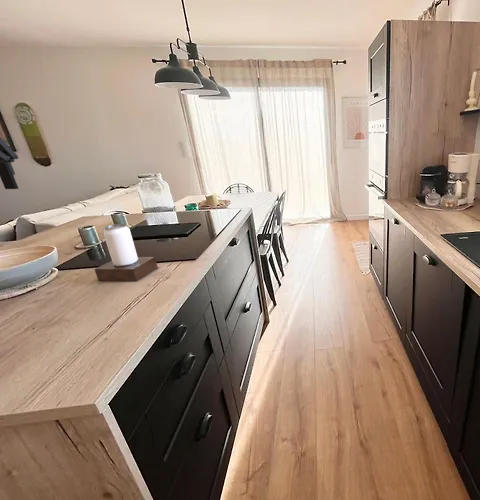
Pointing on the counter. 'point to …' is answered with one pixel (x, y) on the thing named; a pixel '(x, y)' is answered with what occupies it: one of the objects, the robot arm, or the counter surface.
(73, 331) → the counter surface
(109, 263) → the walnut block
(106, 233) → the can
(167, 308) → the counter surface
